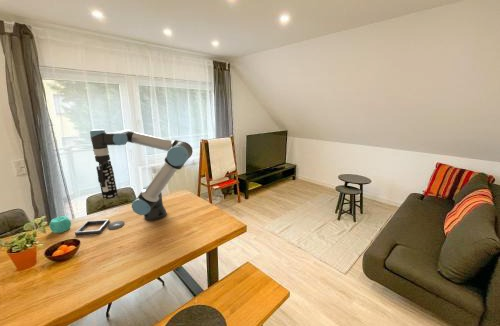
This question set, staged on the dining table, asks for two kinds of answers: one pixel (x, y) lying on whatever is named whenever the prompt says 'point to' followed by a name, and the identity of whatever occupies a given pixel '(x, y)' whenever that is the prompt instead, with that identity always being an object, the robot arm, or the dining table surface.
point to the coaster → (115, 225)
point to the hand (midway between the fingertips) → (108, 188)
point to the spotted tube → (109, 183)
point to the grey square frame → (92, 232)
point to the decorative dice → (60, 224)
